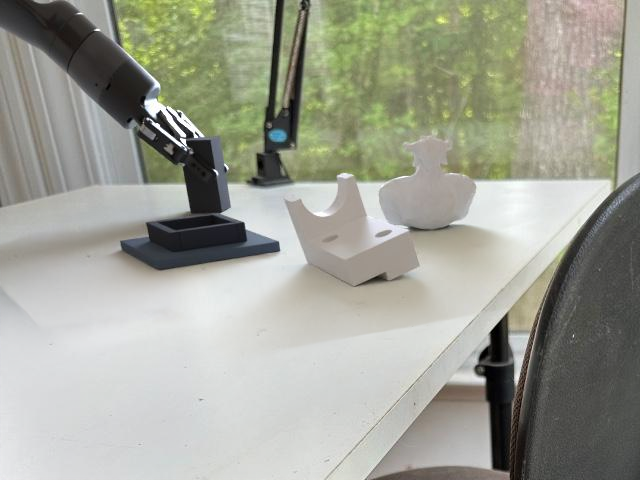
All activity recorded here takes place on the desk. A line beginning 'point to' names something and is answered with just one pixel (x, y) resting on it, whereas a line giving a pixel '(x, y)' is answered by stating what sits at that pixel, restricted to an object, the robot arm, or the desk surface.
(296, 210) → the bracket
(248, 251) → the base pad
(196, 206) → the tall black rectangular peg
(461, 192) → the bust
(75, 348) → the desk surface
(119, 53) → the robot arm
